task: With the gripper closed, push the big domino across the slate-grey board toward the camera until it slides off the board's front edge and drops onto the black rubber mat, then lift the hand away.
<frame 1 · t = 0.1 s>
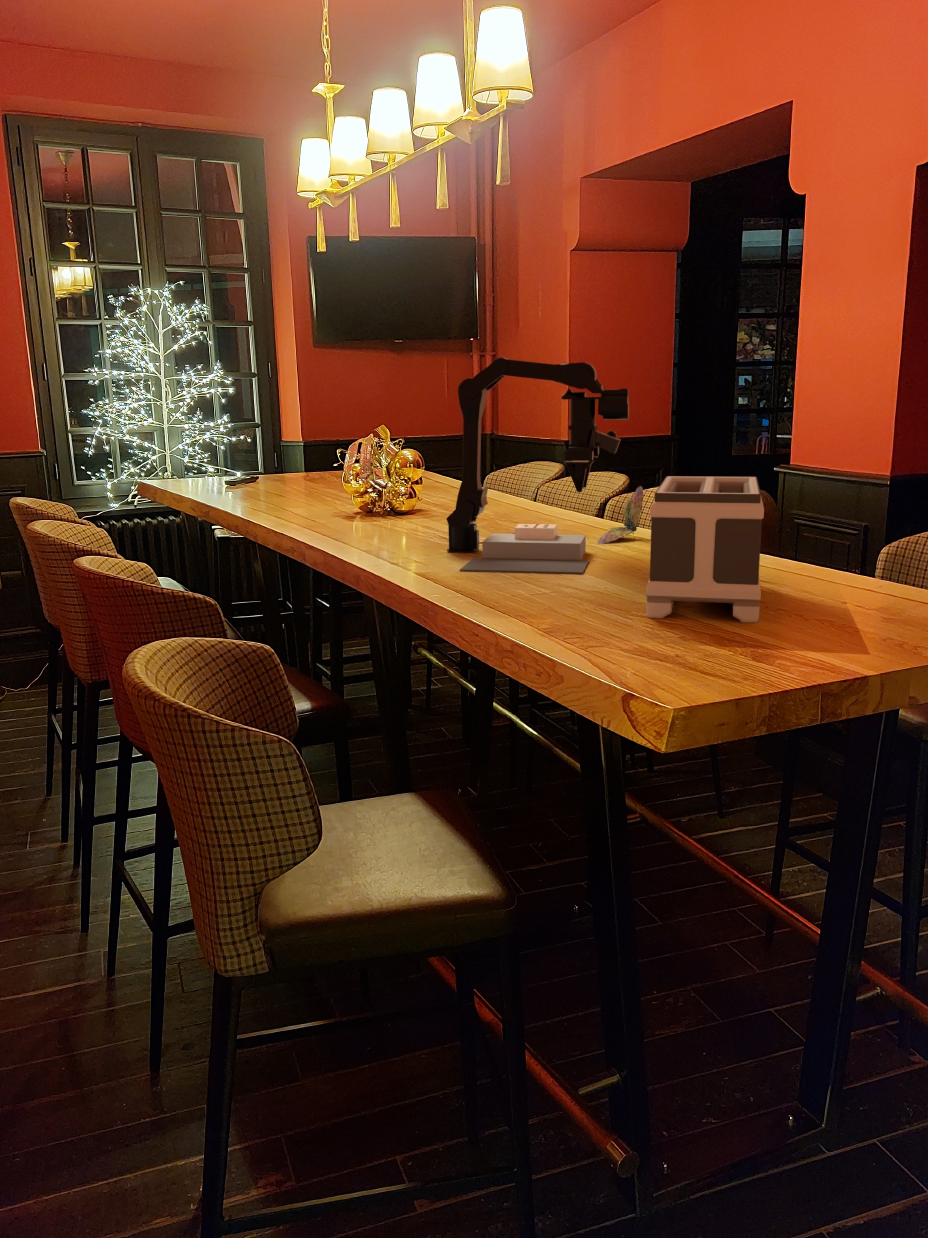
hand: (581, 489, 218), 15 cm above the table, tool pointing down, fingers open, 9 cm apart
domino: (536, 536, 220), point 4 cm above the table, touching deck
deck: (534, 555, 219), on the table
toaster: (704, 600, 173), on the table
mat: (525, 566, 206), on the table
butterfly: (616, 540, 239), on the table
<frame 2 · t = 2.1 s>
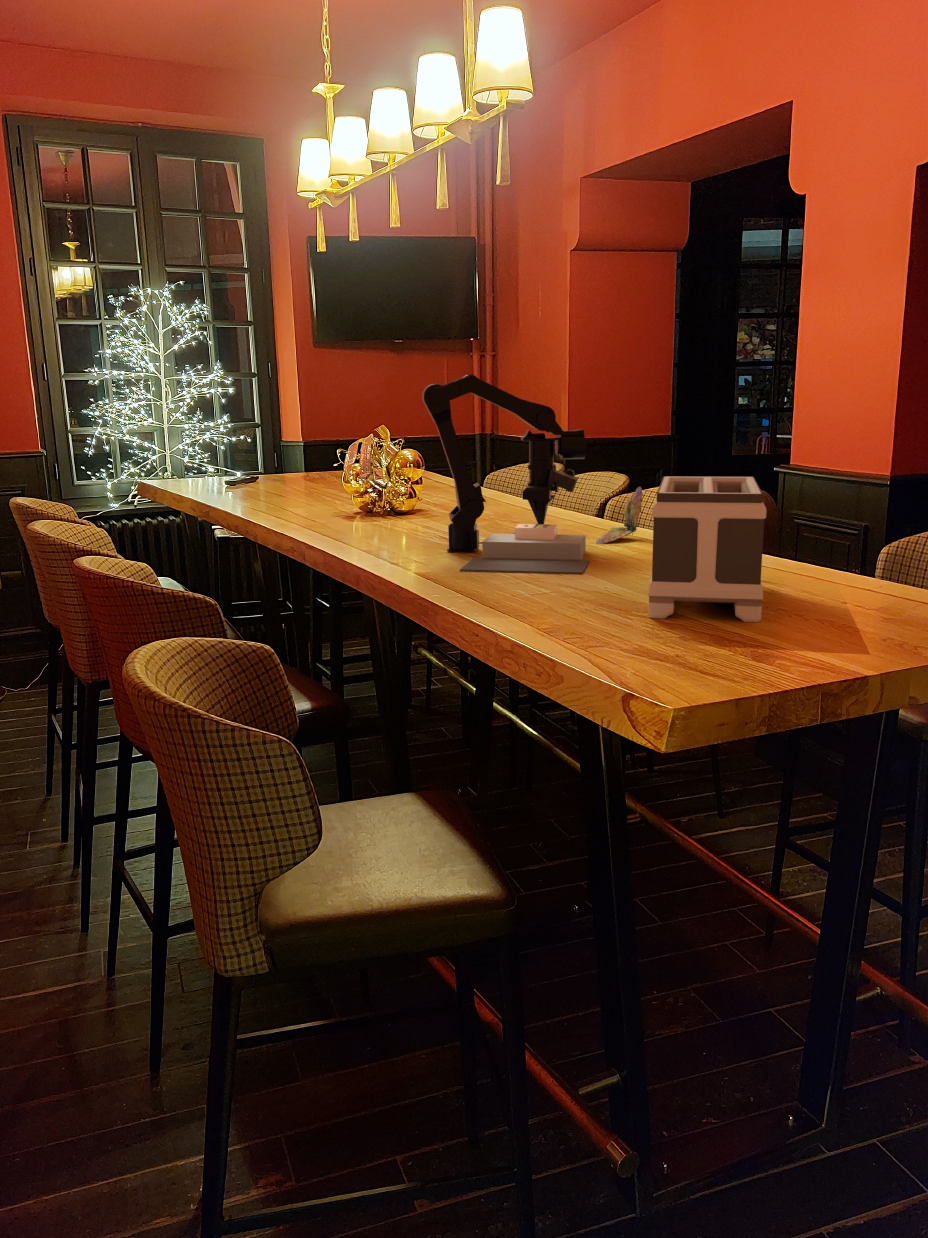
hand: (541, 525, 228), 5 cm above the table, tool pointing down, fingers closed
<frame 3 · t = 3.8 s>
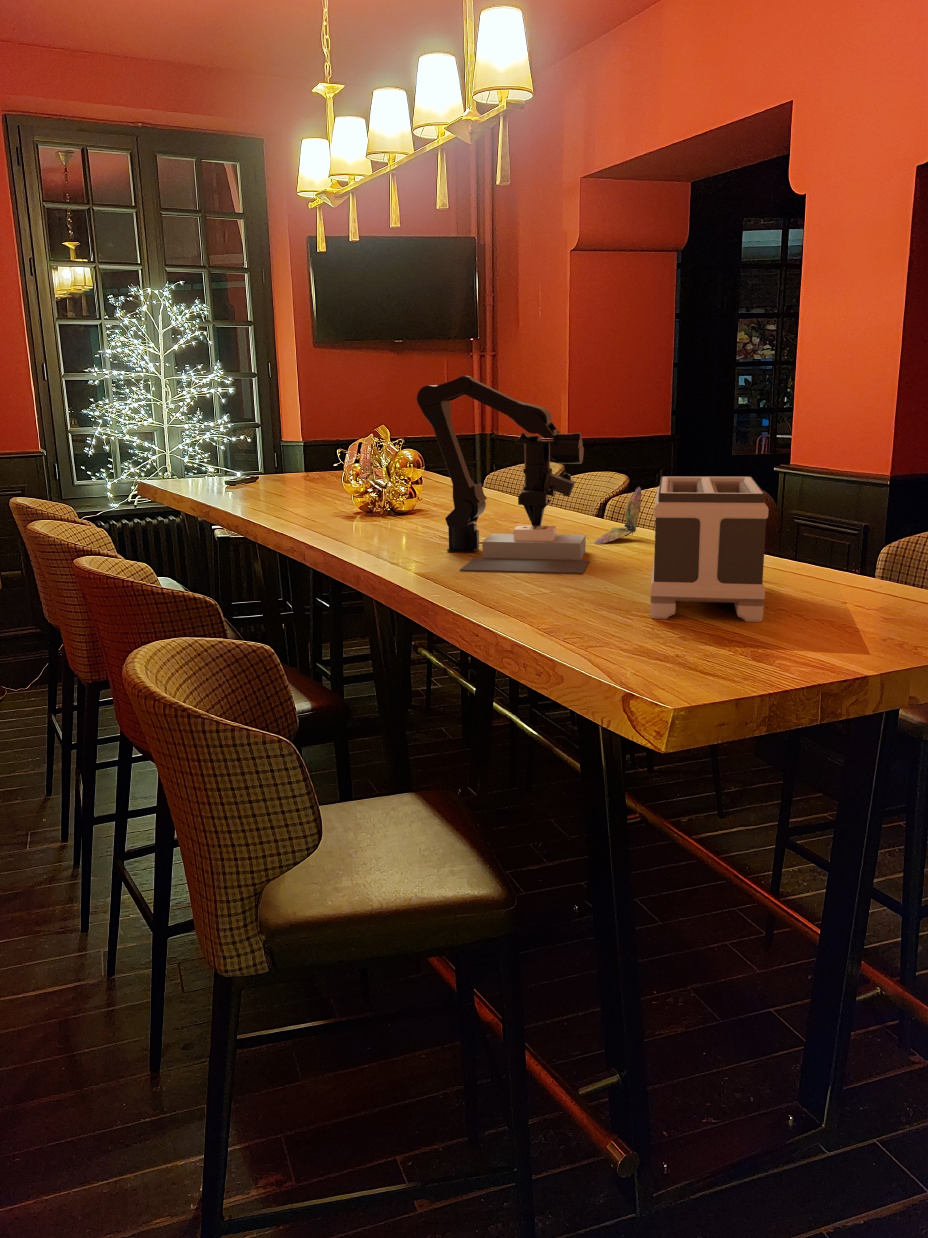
hand: (537, 531, 221), 5 cm above the table, tool pointing down, fingers closed
domino: (535, 538, 218), point 4 cm above the table, touching gripper
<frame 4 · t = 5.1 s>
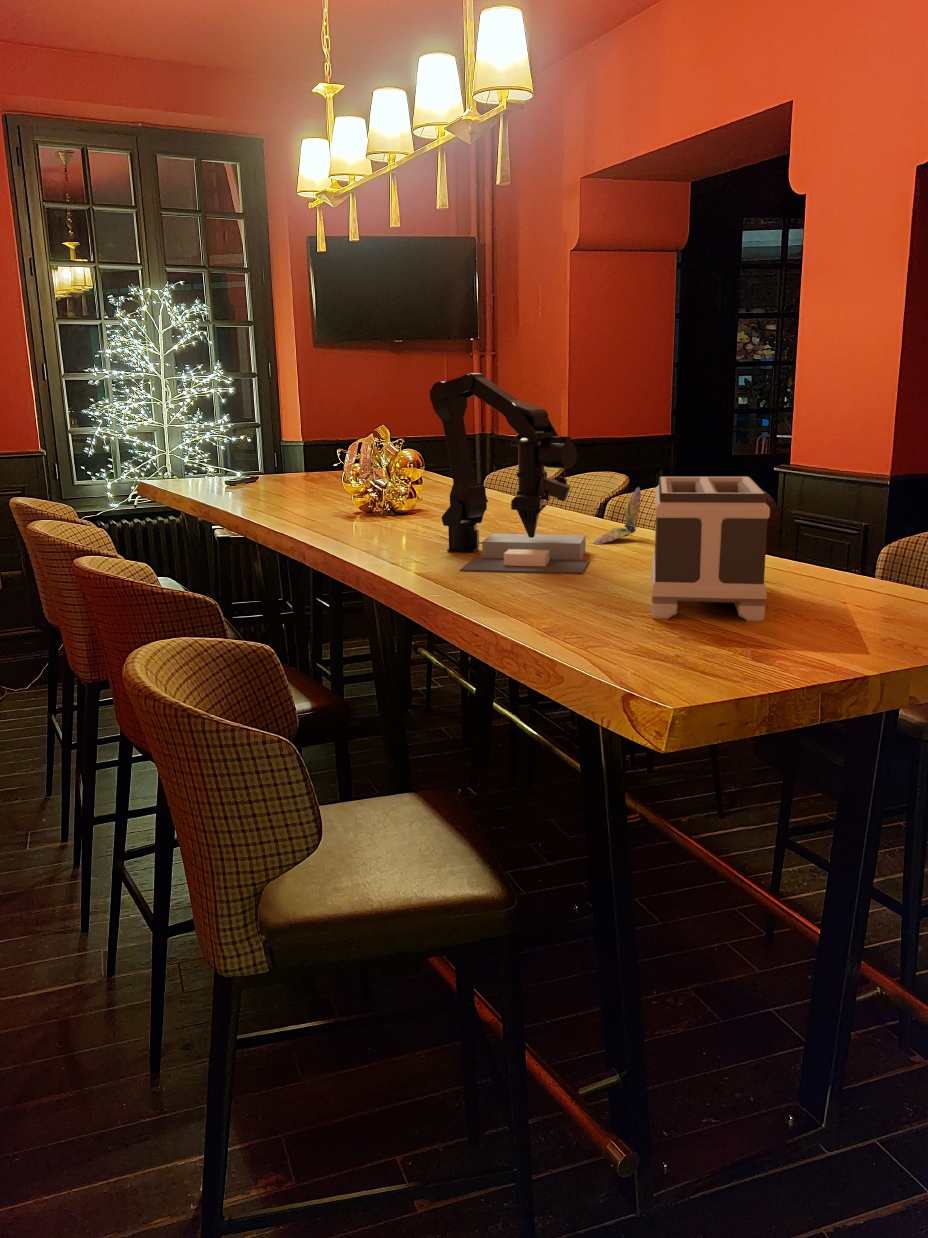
hand: (531, 537, 213), 5 cm above the table, tool pointing down, fingers closed
domino: (526, 551, 207), point 3 cm above the table, tilted 180°, touching mat
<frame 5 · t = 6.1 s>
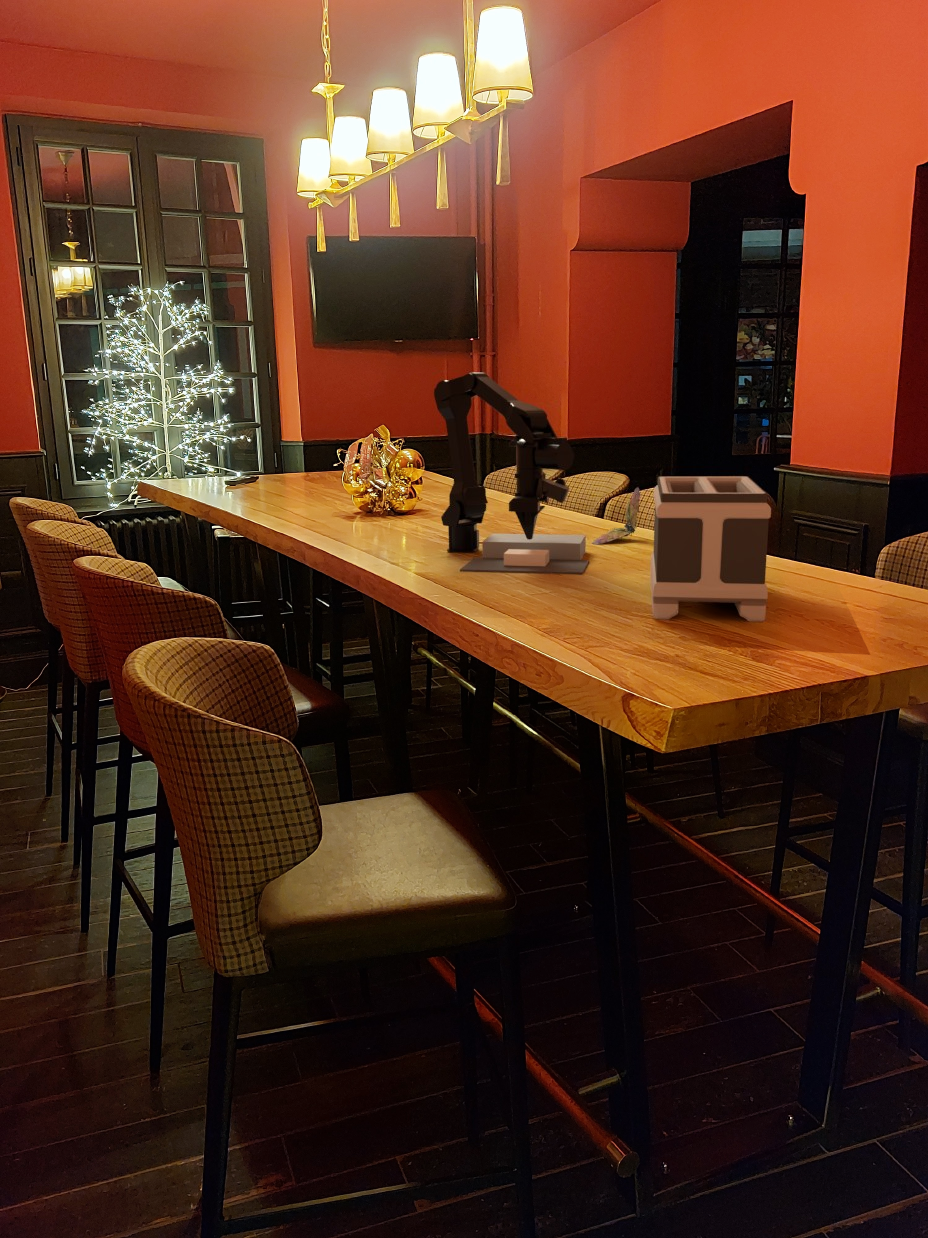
hand: (529, 539, 211), 5 cm above the table, tool pointing down, fingers closed
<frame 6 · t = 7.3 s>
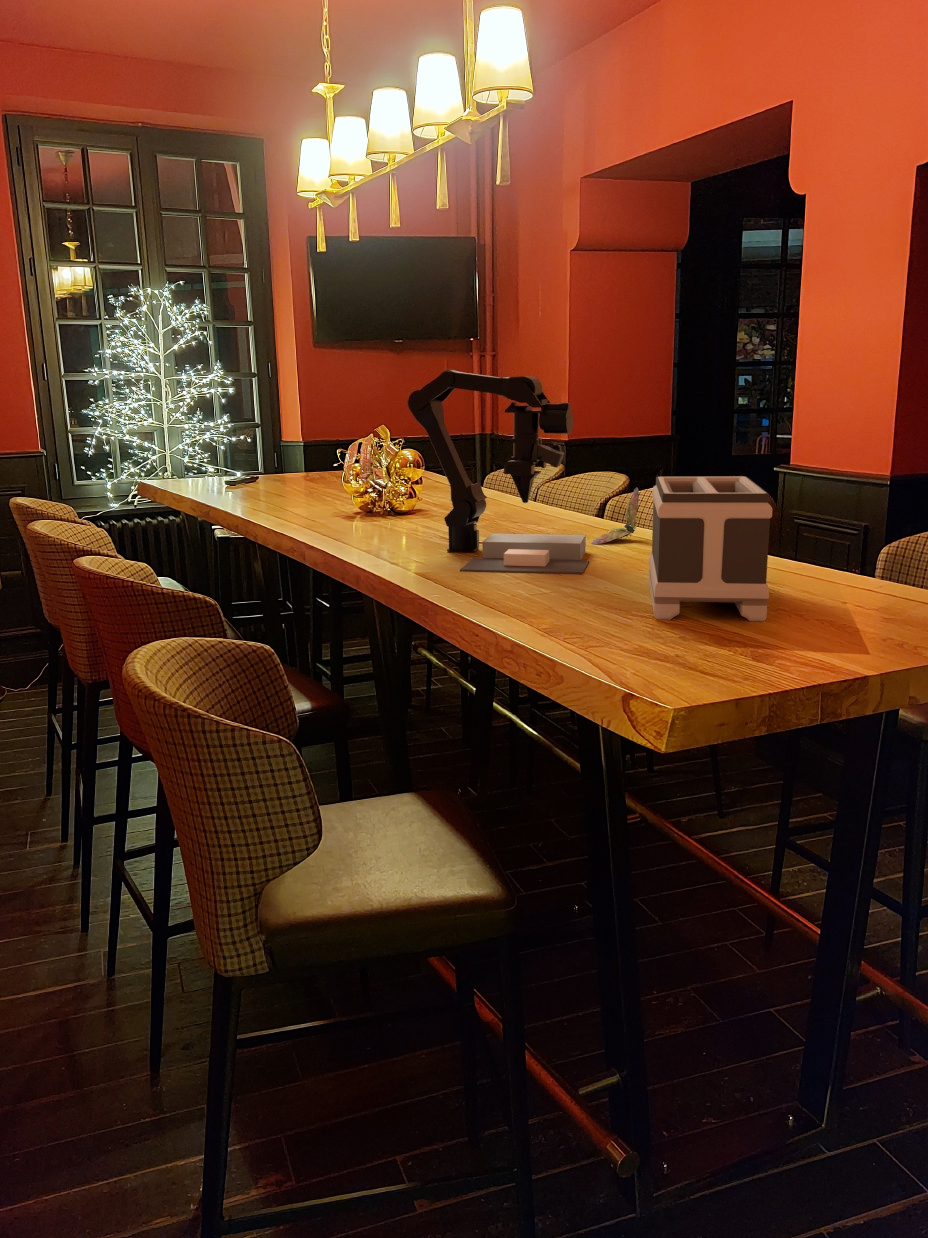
hand: (525, 502, 219), 12 cm above the table, tool pointing down, fingers closed
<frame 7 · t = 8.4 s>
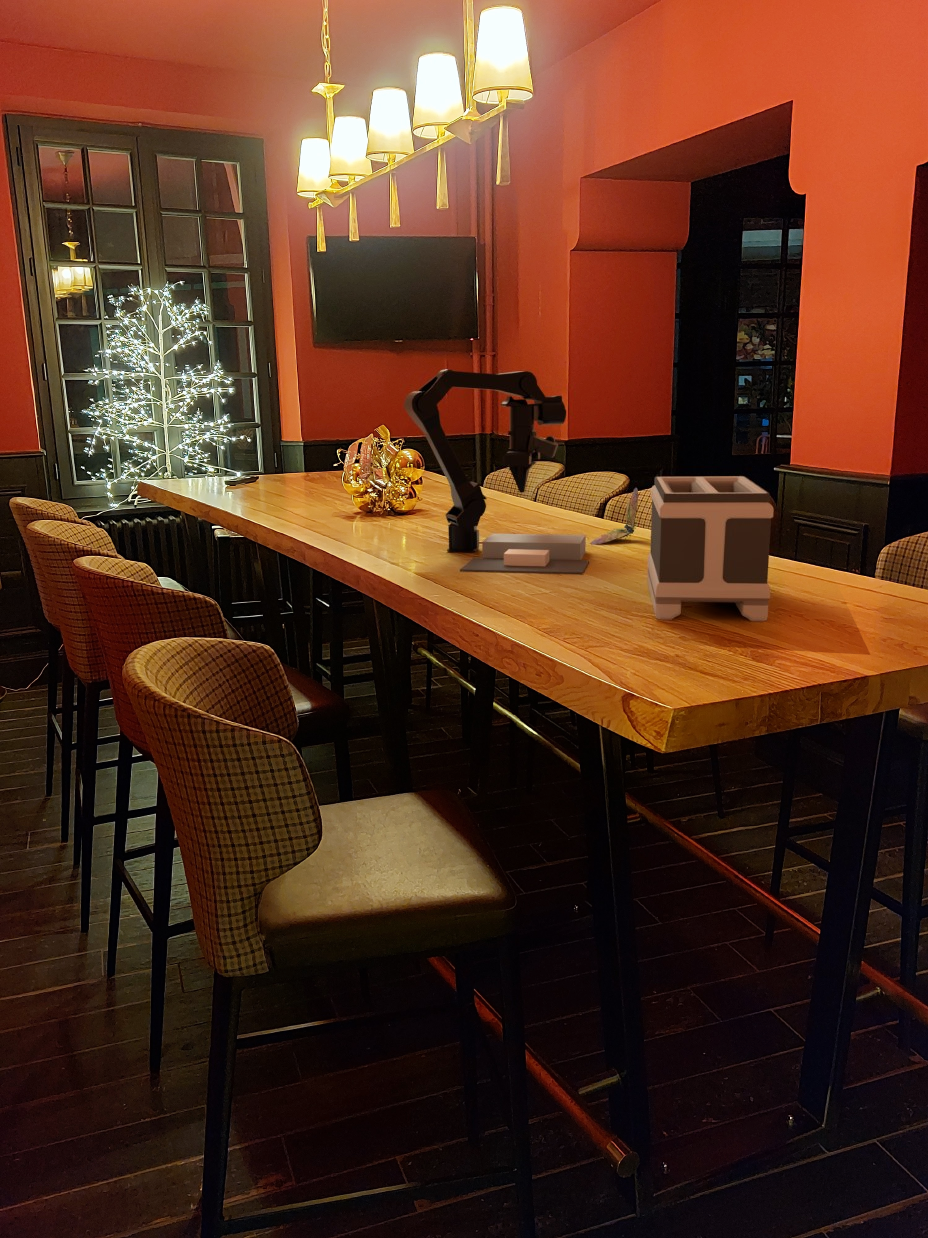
hand: (522, 492, 229), 13 cm above the table, tool pointing down, fingers closed
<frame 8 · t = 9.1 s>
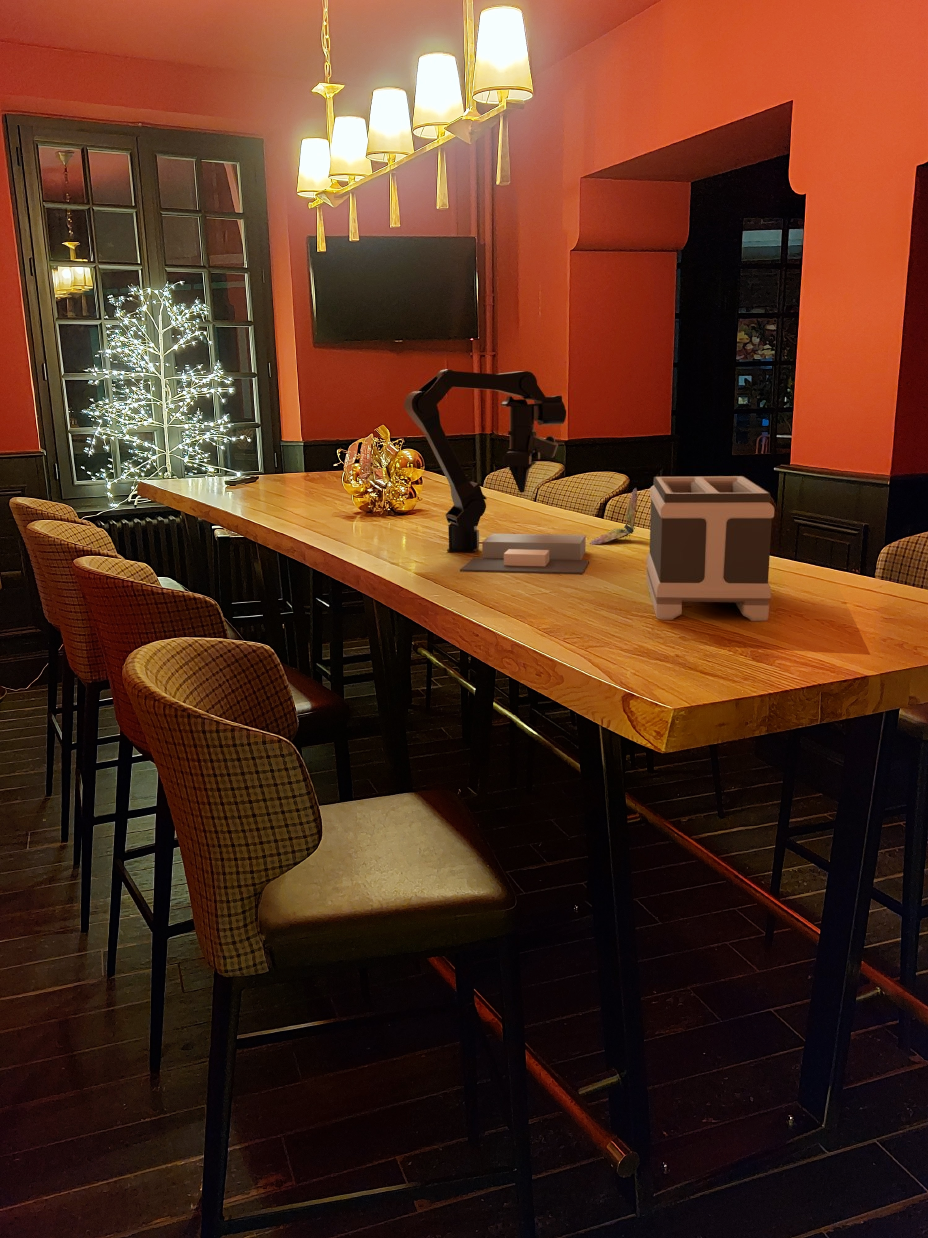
hand: (522, 492, 229), 13 cm above the table, tool pointing down, fingers closed
at the end: domino inside the target area (1.0 cm from its centre), point 3.0 cm above the table; domino moved 14.3 cm from its start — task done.
